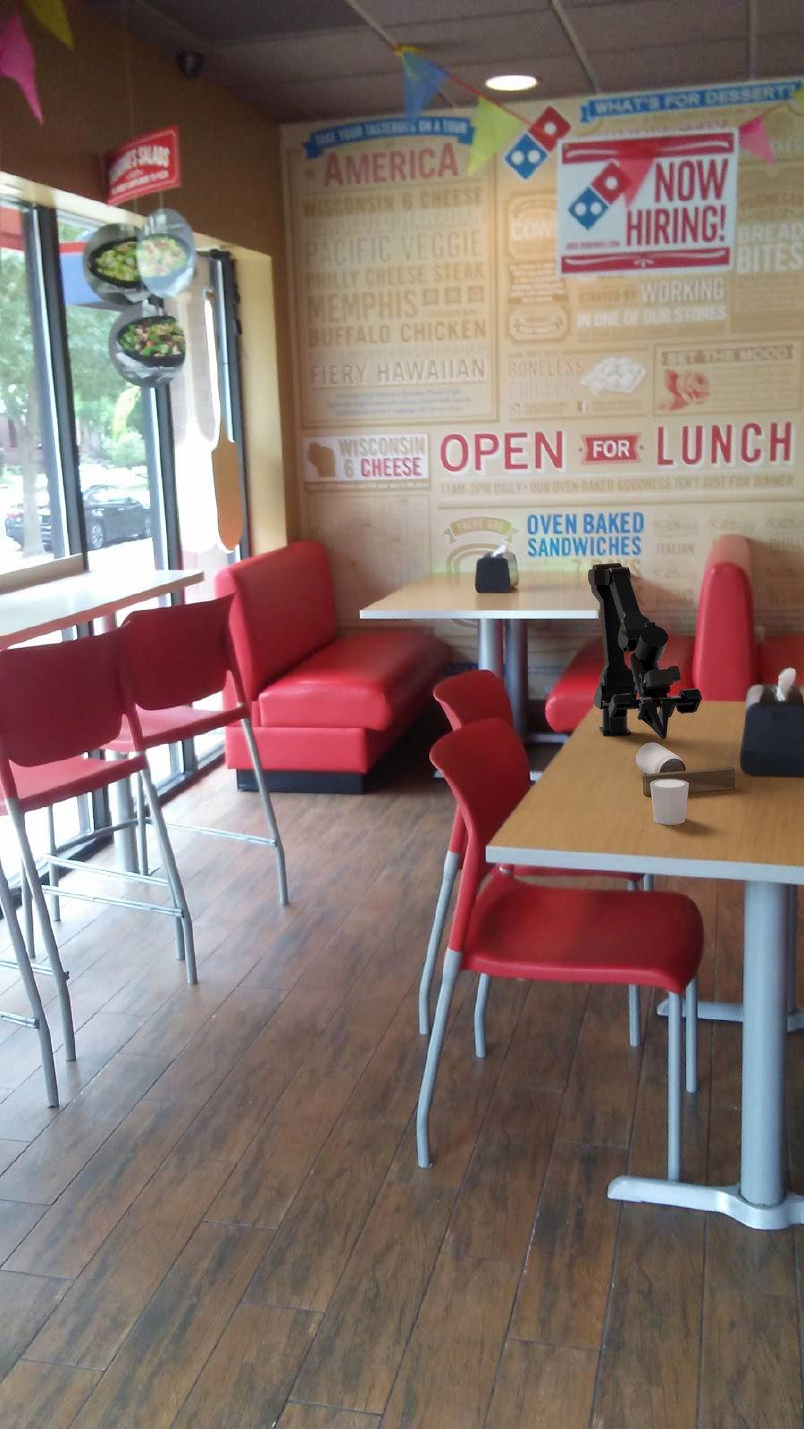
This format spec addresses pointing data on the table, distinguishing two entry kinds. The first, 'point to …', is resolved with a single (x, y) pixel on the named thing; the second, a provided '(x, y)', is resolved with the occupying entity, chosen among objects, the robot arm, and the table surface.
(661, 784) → the white cup
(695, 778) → the rail
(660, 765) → the can
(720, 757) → the table surface
